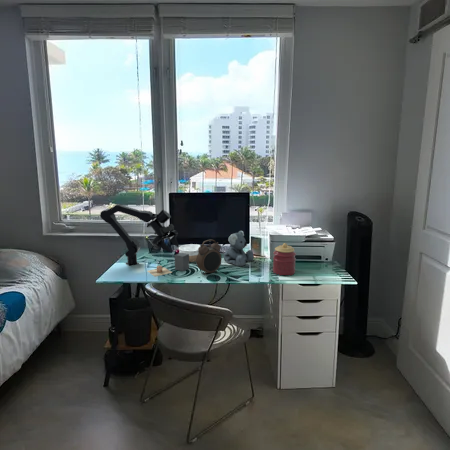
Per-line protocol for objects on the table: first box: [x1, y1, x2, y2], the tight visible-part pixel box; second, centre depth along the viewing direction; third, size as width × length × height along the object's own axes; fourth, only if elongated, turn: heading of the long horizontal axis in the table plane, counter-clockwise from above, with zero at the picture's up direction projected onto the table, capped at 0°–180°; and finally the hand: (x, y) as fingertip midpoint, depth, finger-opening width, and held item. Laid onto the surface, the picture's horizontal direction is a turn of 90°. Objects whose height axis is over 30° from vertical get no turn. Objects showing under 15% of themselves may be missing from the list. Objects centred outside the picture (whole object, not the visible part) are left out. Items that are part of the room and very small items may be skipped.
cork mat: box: [146, 266, 173, 278], centre depth 205 cm, size 11×11×1 cm
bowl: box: [178, 243, 201, 263], centre depth 229 cm, size 16×16×8 cm
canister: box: [272, 242, 297, 276], centre depth 203 cm, size 13×13×18 cm
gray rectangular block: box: [174, 252, 190, 272], centre depth 208 cm, size 6×6×10 cm
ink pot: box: [156, 265, 163, 273], centre depth 204 cm, size 3×3×3 cm
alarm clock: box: [195, 239, 222, 276], centre depth 201 cm, size 15×7×20 cm, turn 126°
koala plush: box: [223, 230, 255, 267], centre depth 223 cm, size 17×18×20 cm
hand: (173, 248), depth 210 cm, fingers open, 9 cm apart
